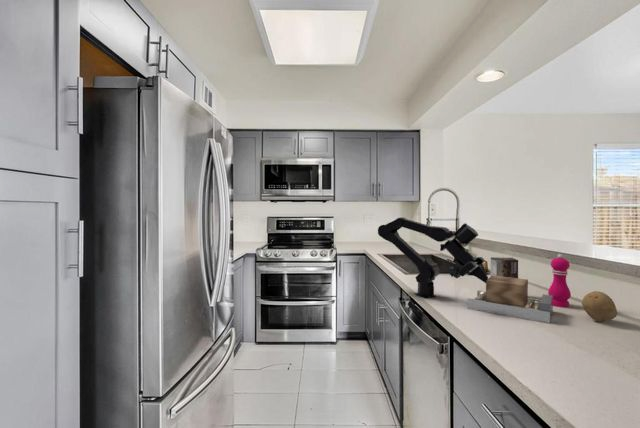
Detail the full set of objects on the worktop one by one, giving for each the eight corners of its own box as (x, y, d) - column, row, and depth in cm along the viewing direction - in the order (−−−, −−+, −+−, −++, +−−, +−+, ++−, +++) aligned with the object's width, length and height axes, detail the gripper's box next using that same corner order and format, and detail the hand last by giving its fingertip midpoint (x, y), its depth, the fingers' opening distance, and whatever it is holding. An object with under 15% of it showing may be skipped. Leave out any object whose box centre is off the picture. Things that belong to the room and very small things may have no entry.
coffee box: (511, 293, 148) (512, 257, 148) (518, 297, 141) (519, 259, 141) (489, 293, 149) (490, 256, 148) (495, 297, 142) (496, 259, 142)
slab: (485, 302, 124) (486, 280, 124) (492, 295, 134) (492, 275, 133) (523, 308, 117) (523, 285, 117) (527, 300, 126) (527, 279, 126)
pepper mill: (550, 306, 130) (551, 254, 129) (545, 301, 136) (547, 252, 136) (573, 308, 127) (574, 255, 126) (567, 303, 134) (568, 253, 133)
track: (467, 308, 126) (467, 292, 126) (477, 299, 139) (478, 284, 139) (549, 323, 111) (550, 305, 110) (552, 311, 123) (553, 295, 123)
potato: (579, 314, 119) (579, 287, 119) (611, 319, 115) (612, 290, 115) (583, 322, 111) (584, 292, 111) (618, 327, 107) (619, 296, 107)
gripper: (451, 261, 146) (478, 291, 140) (436, 268, 132) (466, 300, 125) (470, 245, 141) (499, 274, 135) (457, 249, 127) (489, 282, 120)
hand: (488, 283), depth 129 cm, fingers closed, pressing on slab
